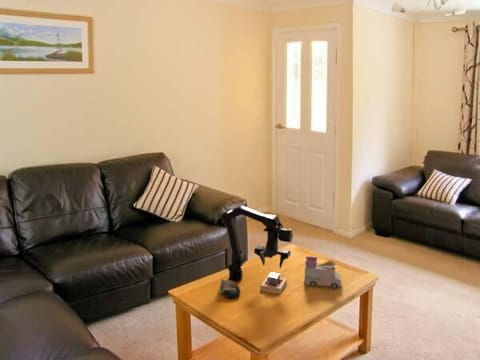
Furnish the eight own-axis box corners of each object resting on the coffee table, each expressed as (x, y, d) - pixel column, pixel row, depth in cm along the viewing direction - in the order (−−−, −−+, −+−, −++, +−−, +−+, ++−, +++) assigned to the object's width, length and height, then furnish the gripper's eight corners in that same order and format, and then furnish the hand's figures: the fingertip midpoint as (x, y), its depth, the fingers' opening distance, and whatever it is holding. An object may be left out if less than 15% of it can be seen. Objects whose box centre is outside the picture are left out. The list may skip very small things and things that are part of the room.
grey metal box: (267, 287, 249) (267, 276, 248) (270, 282, 255) (270, 272, 253) (276, 288, 247) (276, 278, 246) (279, 283, 253) (279, 273, 251)
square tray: (260, 290, 248) (260, 285, 247) (267, 280, 259) (267, 275, 258) (280, 293, 244) (280, 288, 243) (286, 283, 255) (286, 279, 254)
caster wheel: (239, 302, 240) (220, 301, 238) (237, 288, 250) (218, 287, 248) (241, 292, 237) (222, 290, 236) (239, 278, 247) (220, 277, 246)
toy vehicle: (340, 290, 246) (342, 264, 243) (303, 287, 250) (304, 261, 247) (340, 283, 255) (341, 257, 252) (304, 280, 259) (305, 254, 255)
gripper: (250, 242, 243) (250, 269, 247) (285, 247, 236) (284, 275, 240) (257, 235, 253) (257, 261, 257) (291, 239, 246) (290, 267, 250)
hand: (271, 266), depth 251 cm, fingers open, 9 cm apart
